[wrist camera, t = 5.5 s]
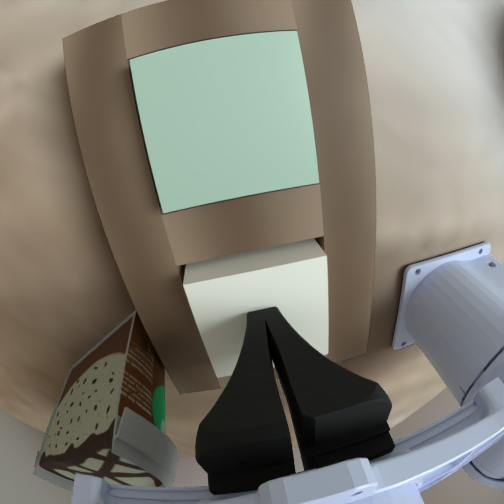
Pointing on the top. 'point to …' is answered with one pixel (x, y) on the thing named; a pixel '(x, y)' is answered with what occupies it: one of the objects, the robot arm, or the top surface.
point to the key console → (236, 209)
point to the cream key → (258, 296)
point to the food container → (111, 416)
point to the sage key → (226, 118)
